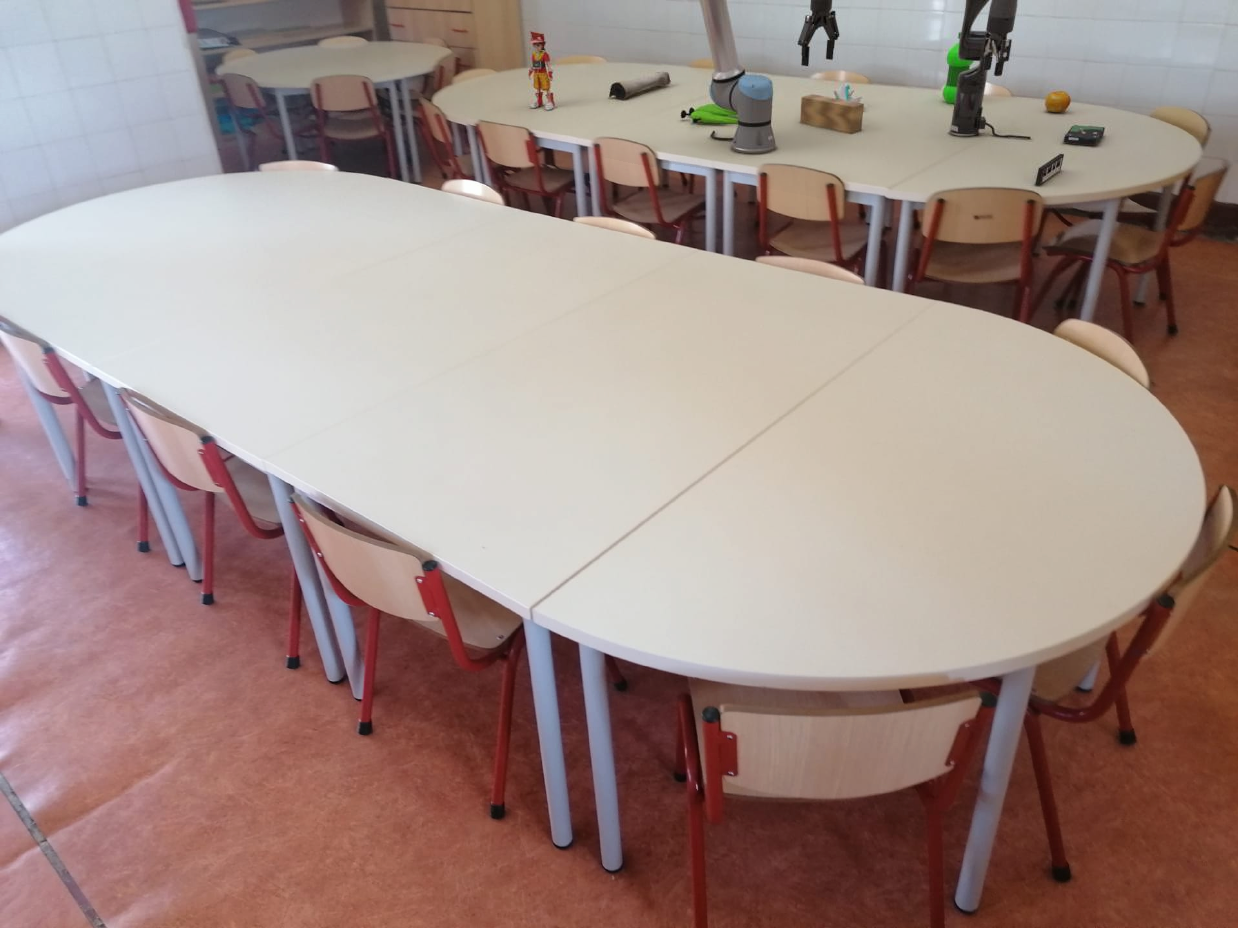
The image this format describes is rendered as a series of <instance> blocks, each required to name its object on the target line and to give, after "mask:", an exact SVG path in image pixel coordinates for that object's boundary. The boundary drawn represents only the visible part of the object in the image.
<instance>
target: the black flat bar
mask: <svg viewBox="0 0 1238 928" xmlns="http://www.w3.org/2000/svg"><path fill="white" fill-rule="evenodd" d="M1064 157H1065V153H1059V154H1058V155H1056V156H1055V157H1052V159H1051V160H1049V161H1047V162H1045V164H1042V165H1041V166H1039V167H1038V169H1037V175H1036V179H1035V186H1040V185H1042V183H1044V182H1045V181H1047V180H1048V179H1049V178H1051V177H1052V176H1054V175H1055V174H1056V173H1058V172H1060V171H1061V170H1062V165H1063V161H1064Z"/></svg>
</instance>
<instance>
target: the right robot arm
mask: <svg viewBox="0 0 1238 928" xmlns="http://www.w3.org/2000/svg"><path fill="white" fill-rule="evenodd" d="M989 1H990V5H989V11H988V16H987V21H986V27H985V30H972V28H973V25H974V23H975V21H976V20H977V18H978V17H979V15H980V14H981V12H982V10H983V9H984V8H985V7H986V6H987V4H988V3H989ZM1018 2H1019V1H1018V0H965V5H964V6H965V7H964V13H963V19H962V25H961V30H960V32H961V35H960V41H959V40H958V43H959V47H958V58H959V59H960V60H964V61H973V62H978V64H977V65H976V66H974V67H972V68H969V70H966V71H963V72H961V73H960V74H959V77H958V83H957V90H956V96H955V103H953V110H952V115H951V124H950V126H949V134H950V135H952V136H956V137H973V136H979V131H980V130H985V129H986V127H989V128H990V129H991V134H992V135H993V136H994V137H995V138H996V137H998V138H1015V139H1025V140H1031V138H1032V137H1031V136H1029V135H1028V136H1026V135H1015V134H1002V135H1000V134H997V133H995V128H994V126H993V125H992V124H990V123H988V122H987V119H986V117H985V116H983V109H984V107H983V102H984V96H985V90H986V83H987V79H988V72H989V71H991V69H992V63H993V58H994V57H995V66H994V71H993V76H995V77H1001V76H1002V75H1003V71H1004V66H1005V63H1006V62H1009V60H1010V56H1011V50H1012V43H1013V42H1012V41H1013V40H1012V38H1008V34H1010V33H1012V32H1013V31H1014V28H1015V21H1016V16H1017V12H1018V11H1017V10H1018V4H1019V3H1018ZM993 56H994V57H993Z"/></svg>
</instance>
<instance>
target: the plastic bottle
mask: <svg viewBox="0 0 1238 928" xmlns="http://www.w3.org/2000/svg"><path fill="white" fill-rule="evenodd" d="M960 35H961V31H959V32H958V36H957V39H958V42H957V43H956V44H954V45H953V46H952V47H951V48H950V49H949V50H948V52H947V54H946V63H947V64H948V69H947V70H948V71H947V76H946V77H947V78H946V84H945V85H944V87H943V90H942V97H943V99H944V100H945V101H946V102H947V103H948V104H954V103H955V96H956V90H957V83H958V77H959V74H960V73H961V72H963V71H966V70H969V69H971V68H970V67H971V65H972V64H973V63H974V61H964V60H960V59H959V58H958V47H959V41H960Z"/></svg>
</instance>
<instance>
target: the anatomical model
mask: <svg viewBox="0 0 1238 928" xmlns="http://www.w3.org/2000/svg"><path fill="white" fill-rule="evenodd" d="M850 89H851V87H850V84H848V83H847V82H844V81H843V82H842V84H841V85H840V86H839V87H836V88H834V90H833V94H834V96H835V98H836V99H841V100H846V101H852V102H857V103H860V101H861V100H862V99H863V96H862V95H860V96H857V97H855V98H853V97H852V95H853V93H854V92H855V89H854V90H851V91H849V90H850ZM866 108H867V106H866V105H864V108H863V111H865V109H866Z"/></svg>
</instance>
